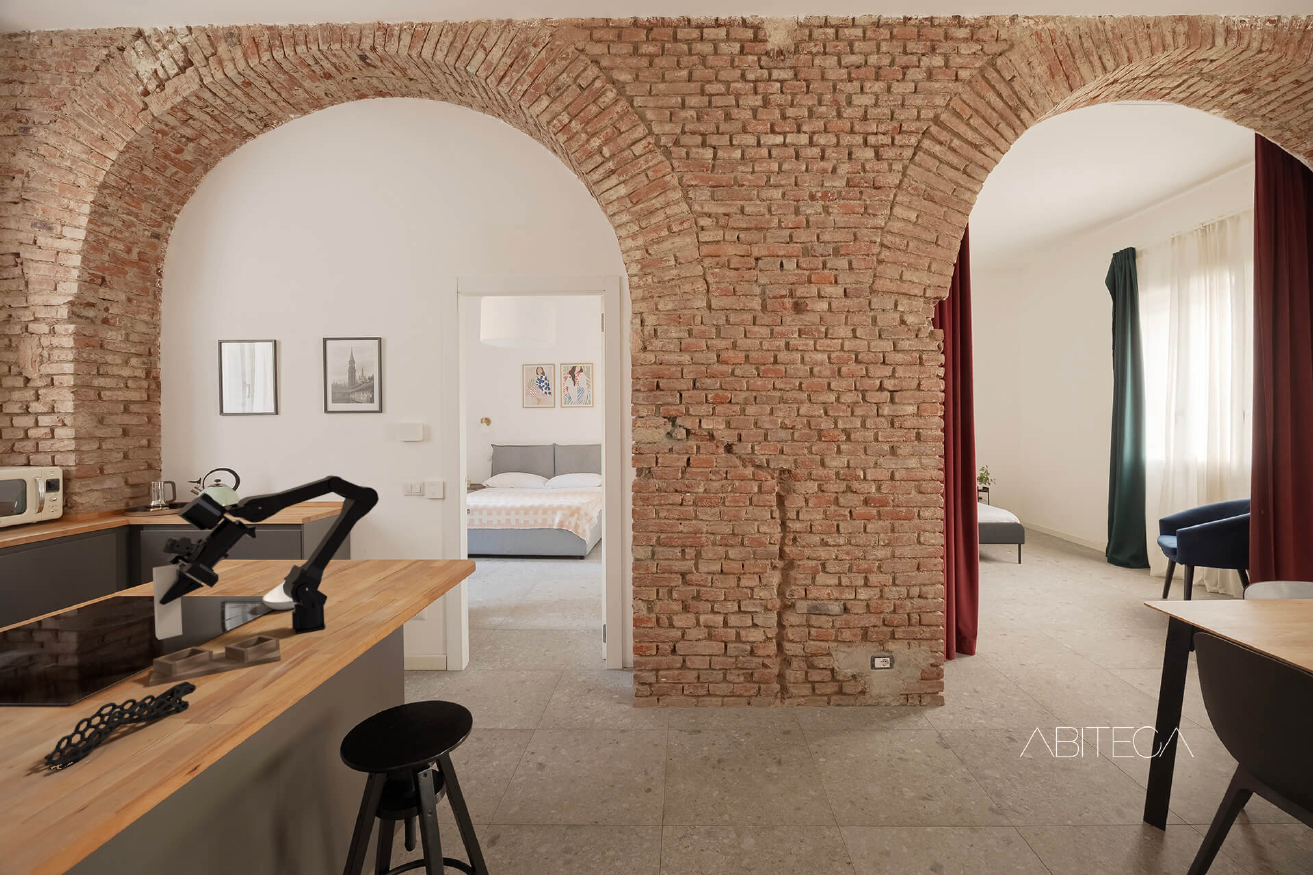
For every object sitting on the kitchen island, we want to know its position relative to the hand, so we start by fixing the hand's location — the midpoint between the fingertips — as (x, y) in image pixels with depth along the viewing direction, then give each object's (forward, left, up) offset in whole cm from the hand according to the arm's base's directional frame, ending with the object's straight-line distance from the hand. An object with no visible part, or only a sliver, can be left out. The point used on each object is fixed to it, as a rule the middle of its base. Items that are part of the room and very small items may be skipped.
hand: (159, 602), depth 130 cm
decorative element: (+1, +34, -14) cm, 37 cm away
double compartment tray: (-10, +8, -13) cm, 19 cm away
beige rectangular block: (-1, 0, -8) cm, 8 cm away
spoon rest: (-27, -37, -14) cm, 48 cm away
